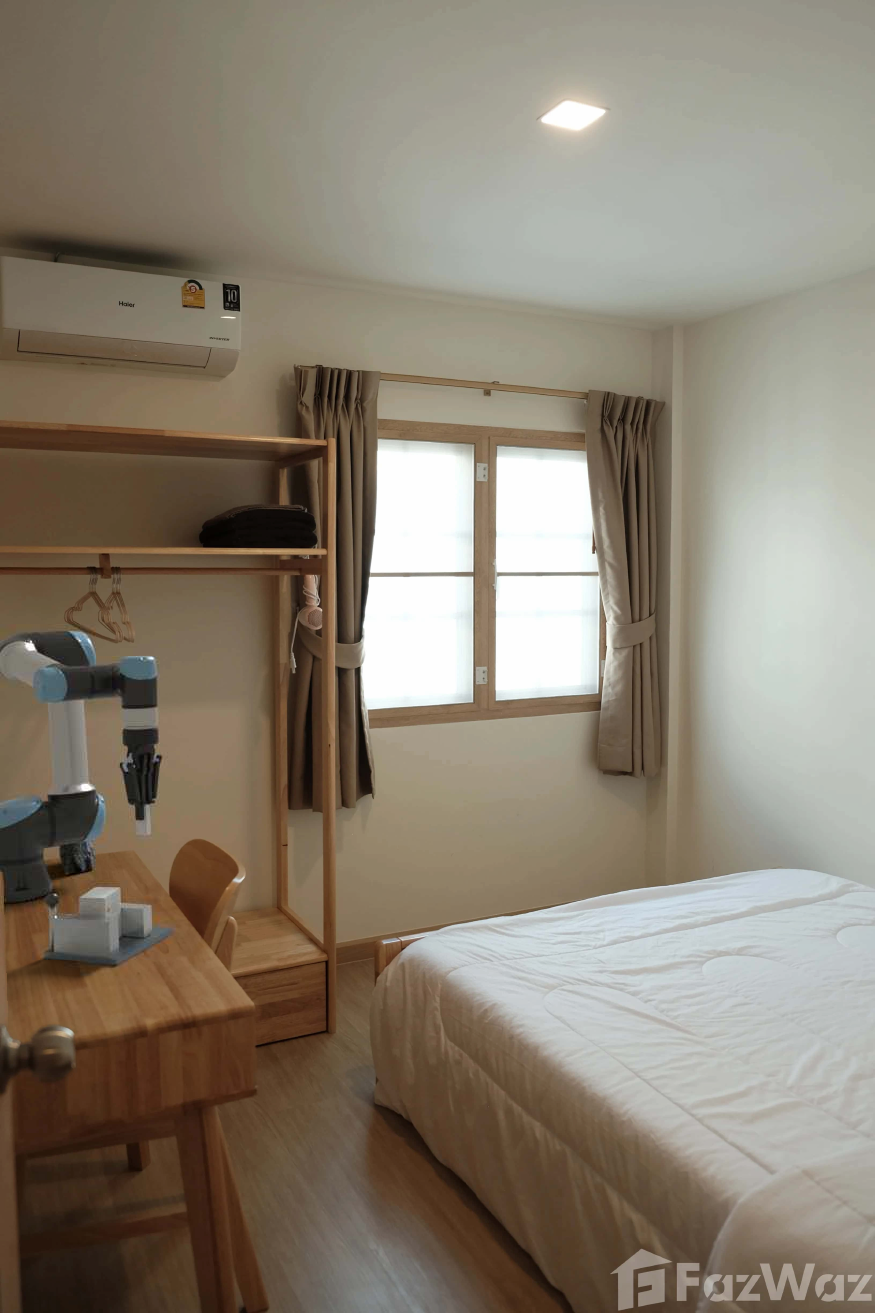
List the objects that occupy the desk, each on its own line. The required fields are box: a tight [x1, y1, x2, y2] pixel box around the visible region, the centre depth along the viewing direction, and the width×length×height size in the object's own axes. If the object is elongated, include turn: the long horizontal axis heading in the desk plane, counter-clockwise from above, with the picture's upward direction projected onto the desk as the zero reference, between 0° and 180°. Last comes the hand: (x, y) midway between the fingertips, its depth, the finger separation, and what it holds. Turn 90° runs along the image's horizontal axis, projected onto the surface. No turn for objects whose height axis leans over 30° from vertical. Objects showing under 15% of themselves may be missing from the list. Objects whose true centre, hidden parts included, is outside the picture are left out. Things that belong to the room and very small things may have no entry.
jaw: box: [121, 902, 153, 938], centre depth 209 cm, size 3×13×6 cm, turn 73°
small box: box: [78, 886, 122, 938], centre depth 204 cm, size 8×6×10 cm
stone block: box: [58, 840, 96, 875], centre depth 271 cm, size 18×9×20 cm, turn 18°
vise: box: [43, 892, 174, 966], centre depth 205 cm, size 20×18×13 cm
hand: (143, 834), depth 217 cm, fingers closed
